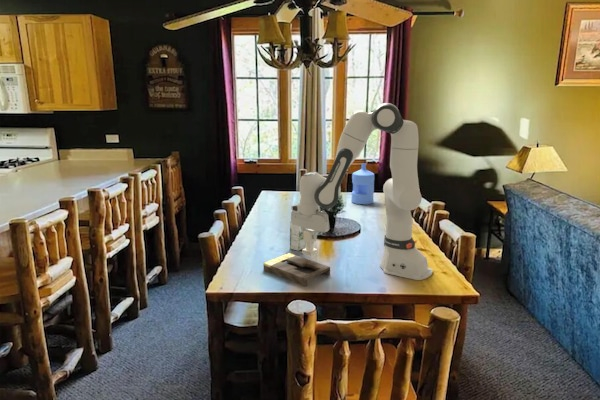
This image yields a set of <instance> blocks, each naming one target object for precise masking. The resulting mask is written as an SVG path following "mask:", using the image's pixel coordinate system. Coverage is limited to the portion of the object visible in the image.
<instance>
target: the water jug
mask: <svg viewBox="0 0 600 400" xmlns="http://www.w3.org/2000/svg"><path fill="white" fill-rule="evenodd" d="M366 167H367V163H364V162H363V163H361V168H360V169H359V170H356V171H354V172H353V173H352V174H351V180H352V181H351V183H352V192H351V200H350V201H351V203H353V204H356V205H360V204H363V206H364V205H365V206H367V205H372V204H373V203H374V192H375V173H373V172H372V171H370V170H368V169H367V168H366Z"/></svg>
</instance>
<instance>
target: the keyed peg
mask: <svg viewBox="0 0 600 400" xmlns="http://www.w3.org/2000/svg"><path fill="white" fill-rule="evenodd" d="M314 233H315V232H314V230H311V229H307V228H306V230H304V241H305V242H306V248H304V249H302V250H301V254H304V255H306V256H309V257H311V256H313V255H315V254H318V248H315V247H314V242H316V241H317V239H312V235H314Z"/></svg>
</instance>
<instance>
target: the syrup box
mask: <svg viewBox="0 0 600 400" xmlns="http://www.w3.org/2000/svg"><path fill="white" fill-rule="evenodd" d="M305 229H306V230H307V228H305ZM305 248H306V242H305V241H304V236H303V232H302V230H301V227H300V226H296V225H293V224H292V223H291V220H290V221H289V249H290V250H294V251H298V252H300V251H302V249H305Z"/></svg>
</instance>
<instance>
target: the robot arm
mask: <svg viewBox="0 0 600 400" xmlns="http://www.w3.org/2000/svg"><path fill="white" fill-rule="evenodd" d="M418 128H419V127H418V125H417V123H415V122H414V121H412V120H408V119H407V120H406V119H403V117H402V114H401V112H400V110H399V109H398V107H397V106H396V105H395V104H392V103H390V102H383V103H380V104H378V105H377V107H375V108H374V109H373V110H371V111H368V112H367V111H365V110H356V111H354V112H353V113H352V115H351V116H350V117H349V119H348V121H347V122H346V124H345V126H344V127H343V130H342V132H341V134H340V137H339V141H338V144H337V146H336V147H337V148H336V154H335V158H334V162H333V164H332V166H331V168H330V170H329V173H327V177H326V176H323V175H321V174H320V173H319V172H318V171H310V172H306V173H303V174H302V175H301V177H300V180H299V195H300V199H299V202H298V203H297V204H294V205H291V207H290V208H291V209H290V210H291V212H290V221H291V223H292V224H293V225H296V226H300V227H301V230H302V232H303V236H304V230H307V229H311V230H314V232H315V233H314V235H312V239H316V240H317V239H318V234H319V233H323V234H324V233H327V232H328V231H329V230H330V221H329V214H328V213H327V212H326V211H325V210H320V208H322V209H327V210H328V209H332V208H334V207H335V206H336V205H337V204H338V202H339V198H340V196H341V192H342V188H341V184H342V182H343V180H344V177H346V174H347V171H348V170H349V168H350V167H351V165H352V164H353V163H354V162H355V160H357V158H358V157H359V156H360V154H361V152H362V151H363V150H364V148H365V147H366V144H367V143H368V140H369V138H370V136H371V134H372V133H373V132H374V131H375V130H380V131H382V132H385V133H388V134H390V137H391V138H390V139H391V140H390V141H391V143H390V153H389V154H390V155H389V168H390V172H391V178H388V179H387V180H386V181H385V183H384V184H383V188H382V191H383V194H384V195H383V196H384V208H385V216H386V217H385V218H386V221H385V222H386V223H385V235H384V240H383V246H384V249H383V255H382V258H381V262H380V264H379V266H380V268H381V269H382V270H383V273H385V274H387V275H392V276H397V277H401V278H404V279H409V280H414V281H422V280H426V279H428V278H429V277H431V276H432V275H433V274H434V272H433V271H434V269H433V268H431V267H428V265H429V263H428V259H427V256H425V255H424V254H423V253H422V252H421V251H420V250H419V249H418V248H417V247H416V244H417V241H418V239H416V240H414V238H413V237H412V235H413V219H414V218H413V215H412V211H413V210H415V209H417V208H418V207H419V206H420V205H421V203H422V194H421V191H420V185H419V184H420V183H419V177H418V176H419V175H418V174H419V173H418V158H419V157H418V156H419V141H420V138H419V137H420V136H419V129H418ZM305 228H306V229H305Z"/></svg>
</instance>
